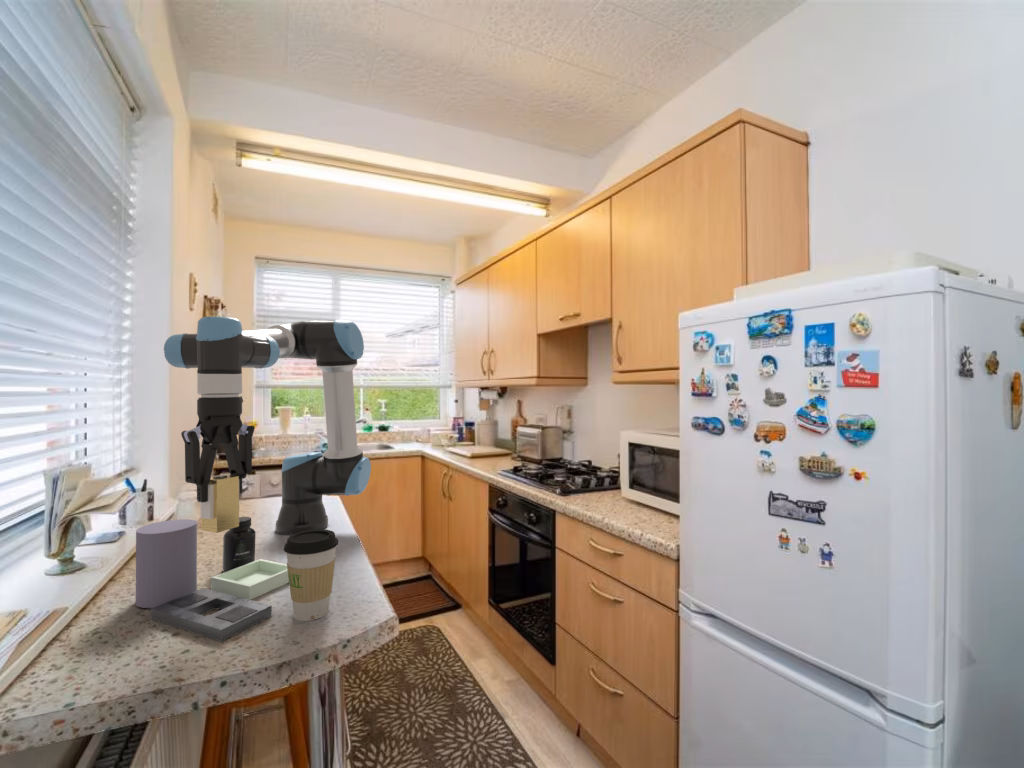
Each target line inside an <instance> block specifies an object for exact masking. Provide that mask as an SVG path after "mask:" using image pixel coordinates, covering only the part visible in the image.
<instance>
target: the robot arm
mask: <svg viewBox="0 0 1024 768" xmlns="http://www.w3.org/2000/svg"><path fill="white" fill-rule="evenodd" d="M363 337H364V336H363V335H362V332H361V330H360V328H359V327H358V325H357V324H356V323H355V322H353V321H351V320H343V319H328V320H327V319H325V320H300V321H295V322H289V323H284V324H276V325H275V324H273V325H271V326H270V327H268V328H266V329H265V328H264V329H250V330H243V327H242V321H241V320H239V319H237V318H236V317H230V316H229V317H228V316H203V317H200V318H199V319H198V321H197V329H196V333H181V334H180V333H176V334H173V335H171V336H169V337H168V338H167V339H166V340H165V342H164V345H163V353H164V354H163V355H164V358H165V360H166V362H167V363H168V364H169V365H170V366H172V367H175V368H177V369H178V368H179V369H189V370H190V369H197V372H196V373H197V374H196V375H197V377H196V378H197V381H196V382H197V384H196V386H197V387H196V388H197V395H200V397H197V398H198V399H196V401H197V402H196V406H197V407H196V415H197V417H198V421H197V424H196V426H195V427H194V428H192V429H190V430H183V431H182V432H181V437H182V439H183V442H184V468H185V469H184V477H185V478H184V479H185V482H186V483H187V484H188V483H189V484H194V485H195V486H196V500H197V503H200V519H201V518H205V519H213V518H214V484H209V483H210V478H211V477H212V475H213V474H212V473H213V468H214V463H215V458H216V454H217V450H218V449H219V448H220V445H221V446H222V447H223V450H224V454H225V458H226V464H227V467H228V470H229V471H228V472H229V475H232V476H239V495H240V494H242V493H243V479H246V478H247V474H251V473H252V470H253V435H254V432H255V429H256V428H255V426H254V425H247V424H244V423H243V421H242V419H241V415H242V414H243V398H242V397H241V396H240V395H242V393H243V370H242V369H245V368H247V369H251V368H252V369H259V370H261V369H266V368H270V367H272V366H274V365H275V364H277V362H278V360H279V359H299V360H315V361H316V367H317V368H318V369H319V370H320V371H321V372H322V384H323V395H324V396H323V397H324V398H323V399H324V411H325V425H326V438H327V439H326V440H327V449H326V450H325V451H324V452H321V451H314V452H312V451H311V452H307V453H306V452H305V453H300V454H294V455H290V456H287V457H285V458H284V459H283V460H282V464H281V465H282V467H281V472H280V473H281V507H280V510H279V513H278V517H277V520H276V522H275V532H276V533H278V534H281V535H293V534H295V533H299V532H303V531H308V530H320V529H322V530H324V529H325V528H327V527H328V526H329V516H328V515H327V512H326V509H325V505H324V503H323V495H324V496H346V497H348V496H359V495H361V494H362V493H363V492H364V491H365V490H366V488H367V486H368V484H369V480H370V478H371V477H370V476H371V468H372V464H371V461H370V458H369V457H367V456H364V451H363V448H361V447H360V446H359V445H358V437H357V420H356V407H355V406H356V405H355V404H356V403H355V388H354V372H353V370H354V369H355V367H356V366H358V360H359V359H361V358H362V357H363V355H364V350H365V344H364V339H363ZM237 435H238V436H237ZM201 437H202V442H200V439H201ZM200 443H201V444H200ZM201 448H202V449H201ZM200 449H201V450H200ZM200 451H201V452H200Z"/></svg>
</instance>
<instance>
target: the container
mask: <svg viewBox="0 0 1024 768" xmlns="http://www.w3.org/2000/svg"><path fill="white" fill-rule="evenodd" d="M197 567H198V521H197V520H195V519H186V518H185V519H184V518H183V519H181V518H180V519H172V520H171V519H169V520H162V521H157V522H153V523H152V522H151V523H149V524H146V525H143V526H140V527H138V528H137V529H136V530H135V606H137V607H139V608H141V609H148V610H149V609H150V610H151V608H154V607H156V606H159V605H161V604H164V603H166V602H169V601H172V600H174V599H177V598H179V597H182V596H184V595H187V594H189V593H192V592H195V591H197V589H198V588H197V587H198V584H197V583H198V580H197V579H198V575H197V573H198V568H197Z"/></svg>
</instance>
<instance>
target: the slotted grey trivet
mask: <svg viewBox="0 0 1024 768" xmlns="http://www.w3.org/2000/svg"><path fill="white" fill-rule="evenodd" d="M216 609H217V610H218V611H216V612H214V613H211V614H209V615H204V614H207V613H209V612H211V611H213V610H216ZM220 609H221V610H220ZM272 610H273V607H272V604H268V603H264V602H260V601H256V600H253V599H251V600H249V599H245V598H241V597H237V596H233V595H229V594H225V593H221V592H217V591H213V590H211V589H209V588H204V587H203V588H199V589H198V590H197V591H195V592H192V593H189V594H187V595H184V596H182V597H179V598H177V599H174V600H172V601H169V602H166V603H164V604H161V605H159V606H156V607H154V608H151V609H150V620H152V621H156V622H158V623H162V624H165V625H168V626H171V627H175V628H177V629H180V630H184V631H187V632H189V633H193V634H196V635H200V636H203V637H206V638H209V639H213V640H216V641H219V642H224V641H225V640H227V639H229V638H231V637H233V636H235V635H237V634H239V633H241V632H243V631H245V630H247V629H249V628H251V627H252V626H255V625H256V624H258V623H259V624H260V622H262V621H264V620H267V619H268V618H270V617H272V614H273V612H272Z"/></svg>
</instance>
